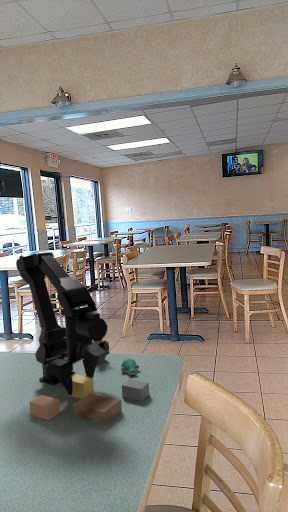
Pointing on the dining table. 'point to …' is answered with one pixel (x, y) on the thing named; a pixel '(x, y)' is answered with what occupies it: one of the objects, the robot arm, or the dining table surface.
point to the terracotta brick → (44, 407)
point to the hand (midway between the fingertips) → (80, 388)
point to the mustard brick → (82, 386)
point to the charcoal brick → (135, 390)
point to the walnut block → (98, 408)
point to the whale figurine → (129, 366)
